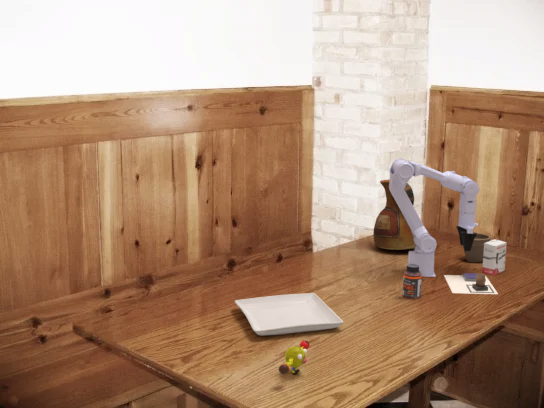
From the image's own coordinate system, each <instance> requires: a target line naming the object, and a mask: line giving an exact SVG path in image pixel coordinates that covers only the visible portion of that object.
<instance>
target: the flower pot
mask: <svg viewBox="0 0 544 408" xmlns="http://www.w3.org/2000/svg"><path fill="white" fill-rule="evenodd" d="M476 233H477V236H476V237H475V239H474V241H473V244H472V248H471V251H464V250H463V251H464V256H465V259H466V261H467V262H470V263H476V264H477V263H483V253H484V243H486V242H489V241H491V240H492V239H491V236H490V235H488V234H485V233H479V232H476ZM462 249H464V245H462Z"/></svg>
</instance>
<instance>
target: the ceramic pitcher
mask: <svg viewBox="0 0 544 408" xmlns="http://www.w3.org/2000/svg"><path fill="white" fill-rule="evenodd" d="M389 180H390V178H389V179H383V180H380V181H379V183H380V185H381V186H382V187H383V189H384V192H385V198H386V202H385V206H384V207H383V209H382V210H380V212H379V213H378V215H377V217H376V220H375V222H374V227H373V231H372V232H373V235H372V236H373V243H374V245H375V246H376V247H377V248H380V249H385V250H389V251H403V250H404V251H405V250H410V249H411V250H412V249H413V250H415V247H416V244H415V243H414V236H413V234H412V231H411V229H410V227H409V225H408V223H407V221H406V219H405V217H404V216H403V214H402V212H401V210H400V208H399V206H398V205H397V203H396V201H395V199H394V197H393V195H392V194H391V192H390V190H389ZM404 190H405V192H406V194H407V196H408V197H409V199H410V201H411V203H412V205H413V206H414V205H415V204H414V203H415V194H414V191H413V188H412V186H411V185H410V184H409V183H408V182H407V184H406V186H405V188H404Z"/></svg>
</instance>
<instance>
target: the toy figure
mask: <svg viewBox="0 0 544 408" xmlns="http://www.w3.org/2000/svg"><path fill="white" fill-rule="evenodd" d="M309 348H310V342H309V341H308V340H305V339H304V340H301V341H300V343H299V346H297V345H295V346H294V345H293V346H290V347H289V348H287V350H286V351H285V353H284V360H285V363H282V364H281V365H280V366H279V367H278V373H280V374H282V375H287V374H288V373H289V371H290V367H291V369H292V370H291V375H298V372H300V371H301V369H299V368H301V366H303V365H304V364H306V363H307V358H306V354H307V353H308V349H309Z"/></svg>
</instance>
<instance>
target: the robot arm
mask: <svg viewBox="0 0 544 408" xmlns="http://www.w3.org/2000/svg"><path fill="white" fill-rule="evenodd" d="M419 176H424V177H427V178H431V180H432V179H433V180H436V181H439V182H440V184H441V186H442V187H444V188H447V189H450V190H453V191H455V192H459V193H460V195H459V208H458V209H459V211H458V213H459V214H458V223H457V225H456V226H455V227H456V230H457V233H458V237H459V244H460V246H463V245H464V248H463V251H471V248H472V244H473V241H474V239H475V237H476V236H477V233H478V232H474V228H475V227H479V223H478V222H476V213H477V211H476V210H477V209H476V208H477V195H478V194H479V192H480V188H479V187H480V186H479V184H478V183H477V182H476V181H475V180H472V178H469V177H468V176H466V175H463V176H462V175H460V174H457V173H456V171H454V170H451V171H450V170H446V171H445V172H443V171H442V172H441V171H439V170H437V169H434V168H432V167H429V166H427V165H424V164H422V163H420V162H416V161H412V160H406V159H403V158H398V159H395V160H394V161H393V162H392V163H391V166H390V168H389V179H390V180H389V179H388V180H389V190H390V192H391V194H392V195H393V197H394V199H395V201H396V203H397V205H398V206H399V208H400V210H401V212H402V214H403V216H404V217H405V219H406V221H407V223H408V225H409V227H410V229H411V231H412V234H413V236H414V243H415V244H416V247H415V248H414V249H413V250H409V251H408V258H407V259H408V260H407V265H408V264H417V265H419V271H420V272H421V273H422V277H428V278H429V277H433V278H434V277H437V275H436V273H435V251H436V248H437V246H438V245H437V241H436V239H435V238H434V237H433V236H431V234H430V233H429V232H428V229H427V228H426V227H425V225H424V224H423V222H422V220H421V218H420V216H419V214H418V213H417V211H416V209H415V207H414V205H412V203H411V201H410V199H409V197H408V196H407V194H406V192H405V190H404V188H405V186H406V184H407V183H408V182H409V181H410V179H412V177H419Z"/></svg>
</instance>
